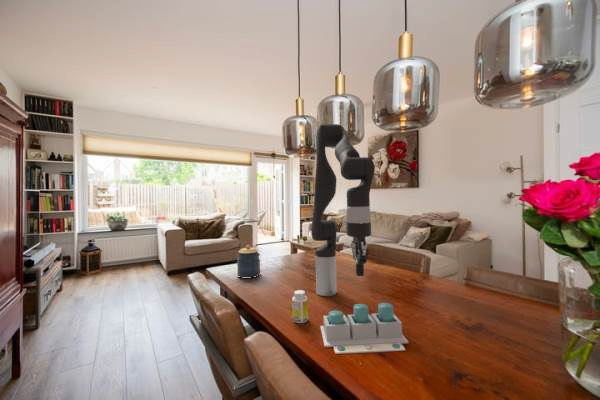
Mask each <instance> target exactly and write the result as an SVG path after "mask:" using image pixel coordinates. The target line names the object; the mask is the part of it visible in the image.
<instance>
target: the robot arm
mask: <svg viewBox="0 0 600 400" xmlns="http://www.w3.org/2000/svg"><path fill="white" fill-rule="evenodd" d="M315 137H316V138H315V140H316V145H315V146H316V150H315V151H316V155H315V156H316V162H315V163H316V164H315V175H314V176H315V178H314V199H313V212H312V220H311V230H310V231H311V238H312V240H313V241H316V242H322V241H325V243H324V244H322V245H321V246H319V247H317V248H316V249H315V285H316V286H315V287H316V288H315V290H316V294H317V295H319V296H321V297H331V296H332V297H333V296H335V295H336V294H337V261H336V260H337V259H336V257H337V256H336V255H337V254H336V253H337V225H336V222H335V221H334V220H333V219H323V215H324V212H325V211H326V208H327V207H328V206H329V205H330V203H331V202H332V201H333V200H334V197H335V196H336V192H337V191H336V190H337V176H336V174H335V171H334V170H333V168H332V166H331V164H330V162H329V161H328V158H327V155H326V148H334V156H335V159H336V160H337V162H339V166H340V175H341V177H342V178H344V179H345V180H348V181H359V180H360V182H359V185H357V186H353V187H350V188H348V189H347V190H346V212H345V213H346V215H345V216H346V235H347V236H348V237H351V238H352V241H351V243H350V246H351V252H352V253H351V254H352V259H353V261H354V263H355V275H356V276H358V277H363V276H365V269H364V268H365V266H364V265H365V264H367V261H368V256H369V249H368V248H367V247H368V242H367V241H366V237H367V238H369V237H370V236H372V219H371V218H372V214H371V212H372V211H371V207H370V202H371V201H370V192H371V187H372V182H373V178H374V174H375V170H376V167H375V162H374V161H373V159H371V158H370V157H366V156H365V157H363V156H362V157H361V155H360V153H359V152H358V150H357V149H356V148H355V147H354V145H352V143H351V142H350V139H349V137H348V134H347V131H346V130H345V128H344V126H343V125H341V124H338V123H337V124H335V123H320V124H318V126H317V128H316V136H315ZM322 219H323V220H322Z"/></svg>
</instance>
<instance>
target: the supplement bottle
mask: <svg viewBox="0 0 600 400" xmlns="http://www.w3.org/2000/svg"><path fill="white" fill-rule="evenodd" d="M291 302H292V303H291V307H292V309H291V311H292V321H293V322H295V323H297V324H304V323H306V322H308V320H309V311H308V310H309V308H308V307H309V302H308V297H307V296H306V291H305V290H302V289H299V290H295V291H293V296H292V299H291Z"/></svg>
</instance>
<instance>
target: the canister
mask: <svg viewBox="0 0 600 400" xmlns="http://www.w3.org/2000/svg"><path fill="white" fill-rule="evenodd" d="M260 256H261V254H260V253H259V249H257V248H256V247H251V245H250V244H247V245H245V247H243V248H240V249H239V250H238V254H237V255H236V257H237V261H236V264H237V273H236V274H237V277H238V276H240V277H254V276H257V275H259V274H260V275H261V259H260ZM260 275H259V276H260Z"/></svg>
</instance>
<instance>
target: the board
mask: <svg viewBox="0 0 600 400" xmlns="http://www.w3.org/2000/svg"><path fill="white" fill-rule="evenodd" d="M368 315H369V323H355V322H354V313H353V314H347V316H346V315H345V314H343V323H344V324H330V325H329V315H323V325H320V326H319V328H320V332H321V337H322V340H323V346H324V347H325V348H333V346H348V345H369V344H390V343H401V344H402V345H403V344H409V340H408V339H407V338H406V337H405V336H404V334H403V325H402V324H403V323H402V321H401V320H400V319H399V318H398V317H397V316H396V314H394V322H380V321H379V318H378V312H377V313H371V314H370V313H368Z"/></svg>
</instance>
